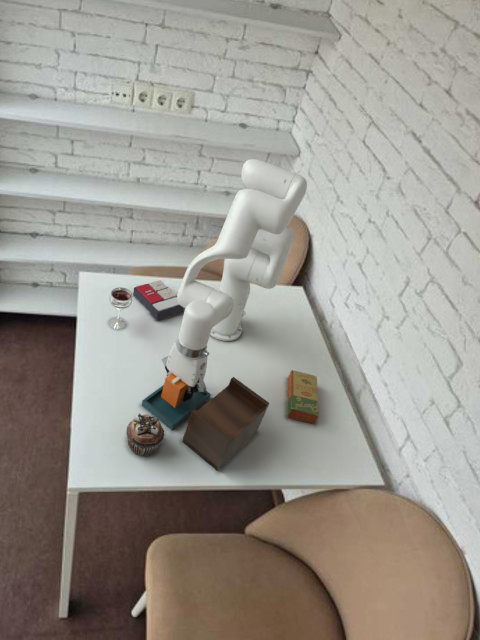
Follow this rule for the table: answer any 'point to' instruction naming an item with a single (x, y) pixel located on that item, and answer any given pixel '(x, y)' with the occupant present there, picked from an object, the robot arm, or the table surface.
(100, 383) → the table surface
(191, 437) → the shelf
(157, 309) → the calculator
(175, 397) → the packet
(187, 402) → the tray
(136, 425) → the cupcake
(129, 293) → the wineglass
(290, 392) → the carton
